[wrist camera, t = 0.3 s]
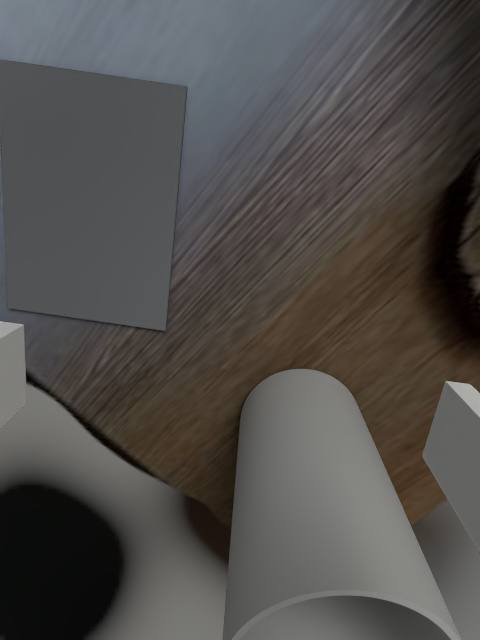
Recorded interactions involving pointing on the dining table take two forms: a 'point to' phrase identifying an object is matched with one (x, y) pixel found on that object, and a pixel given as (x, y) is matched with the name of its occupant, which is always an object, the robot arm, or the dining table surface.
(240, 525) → the cylinder vase
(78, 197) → the mat
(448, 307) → the dining table surface
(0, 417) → the robot arm
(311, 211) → the dining table surface
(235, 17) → the dining table surface
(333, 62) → the dining table surface
